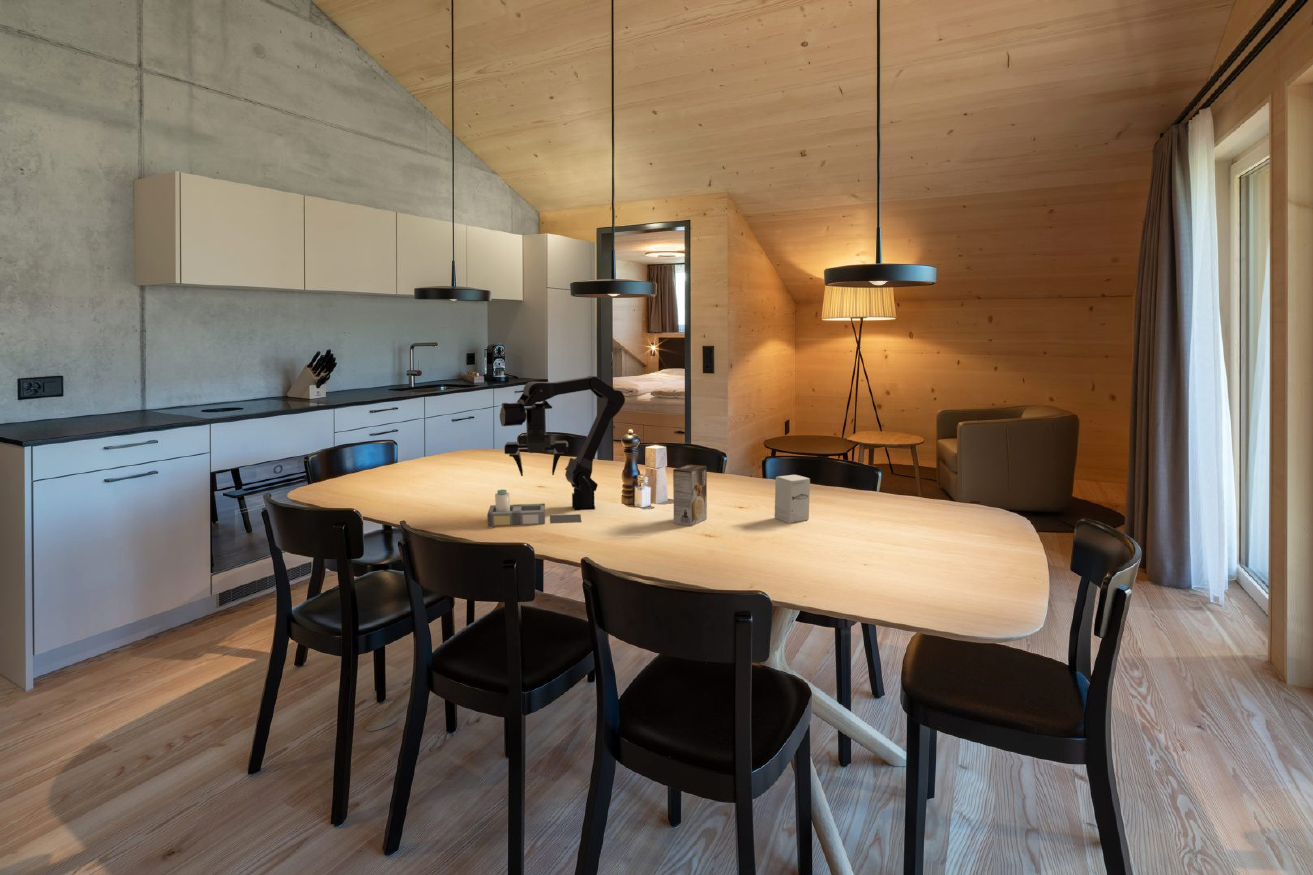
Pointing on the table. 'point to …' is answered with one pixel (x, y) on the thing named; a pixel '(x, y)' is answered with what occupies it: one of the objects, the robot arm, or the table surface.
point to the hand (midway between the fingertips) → (537, 475)
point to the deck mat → (565, 518)
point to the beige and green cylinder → (502, 501)
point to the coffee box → (690, 494)
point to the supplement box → (792, 498)
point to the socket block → (517, 515)
